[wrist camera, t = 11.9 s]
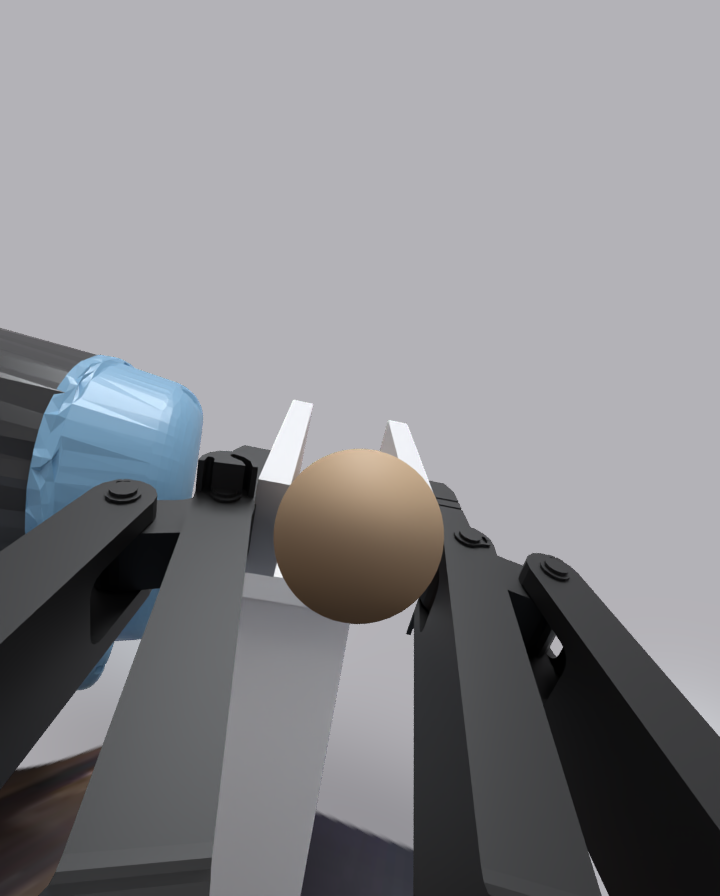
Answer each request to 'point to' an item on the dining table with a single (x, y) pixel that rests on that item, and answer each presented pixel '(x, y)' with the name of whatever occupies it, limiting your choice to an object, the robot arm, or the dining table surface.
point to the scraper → (358, 536)
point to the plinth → (274, 740)
